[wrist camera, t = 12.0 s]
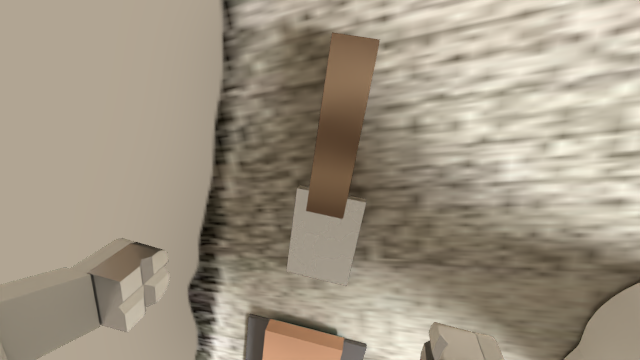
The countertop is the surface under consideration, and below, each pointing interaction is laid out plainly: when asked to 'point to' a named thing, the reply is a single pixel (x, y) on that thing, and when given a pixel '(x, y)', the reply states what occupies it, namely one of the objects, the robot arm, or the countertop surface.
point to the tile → (299, 343)
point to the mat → (256, 336)
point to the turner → (334, 167)
